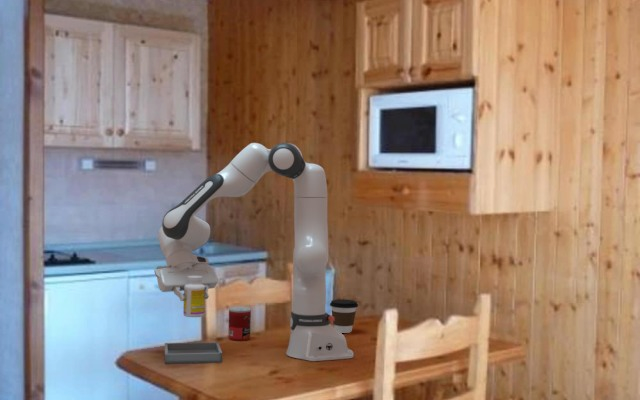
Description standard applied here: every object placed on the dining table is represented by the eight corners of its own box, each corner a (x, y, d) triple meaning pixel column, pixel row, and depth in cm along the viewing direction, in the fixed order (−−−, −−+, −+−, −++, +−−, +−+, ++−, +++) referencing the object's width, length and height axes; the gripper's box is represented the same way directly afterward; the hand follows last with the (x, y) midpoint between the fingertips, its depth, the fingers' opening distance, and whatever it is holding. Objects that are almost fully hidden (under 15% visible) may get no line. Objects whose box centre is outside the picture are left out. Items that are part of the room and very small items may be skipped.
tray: (217, 351, 251) (218, 342, 251) (222, 362, 235) (222, 353, 235) (164, 352, 247) (164, 343, 247) (165, 364, 232) (165, 354, 232)
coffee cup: (362, 332, 288) (363, 301, 287) (345, 336, 280) (346, 305, 279) (341, 328, 295) (342, 298, 295) (323, 332, 287) (324, 301, 286)
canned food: (246, 341, 266) (247, 311, 266) (225, 340, 267) (226, 309, 267) (252, 337, 273) (253, 307, 273) (231, 335, 275) (232, 306, 275)
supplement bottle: (208, 315, 242) (209, 276, 242) (195, 318, 236) (197, 278, 236) (191, 313, 245) (192, 274, 245) (178, 316, 239) (180, 276, 239)
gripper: (155, 260, 239) (168, 295, 232) (212, 258, 252) (225, 290, 244) (149, 272, 243) (162, 307, 236) (205, 269, 255) (218, 302, 248)
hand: (195, 298), depth 240 cm, fingers closed on supplement bottle, 7 cm apart
